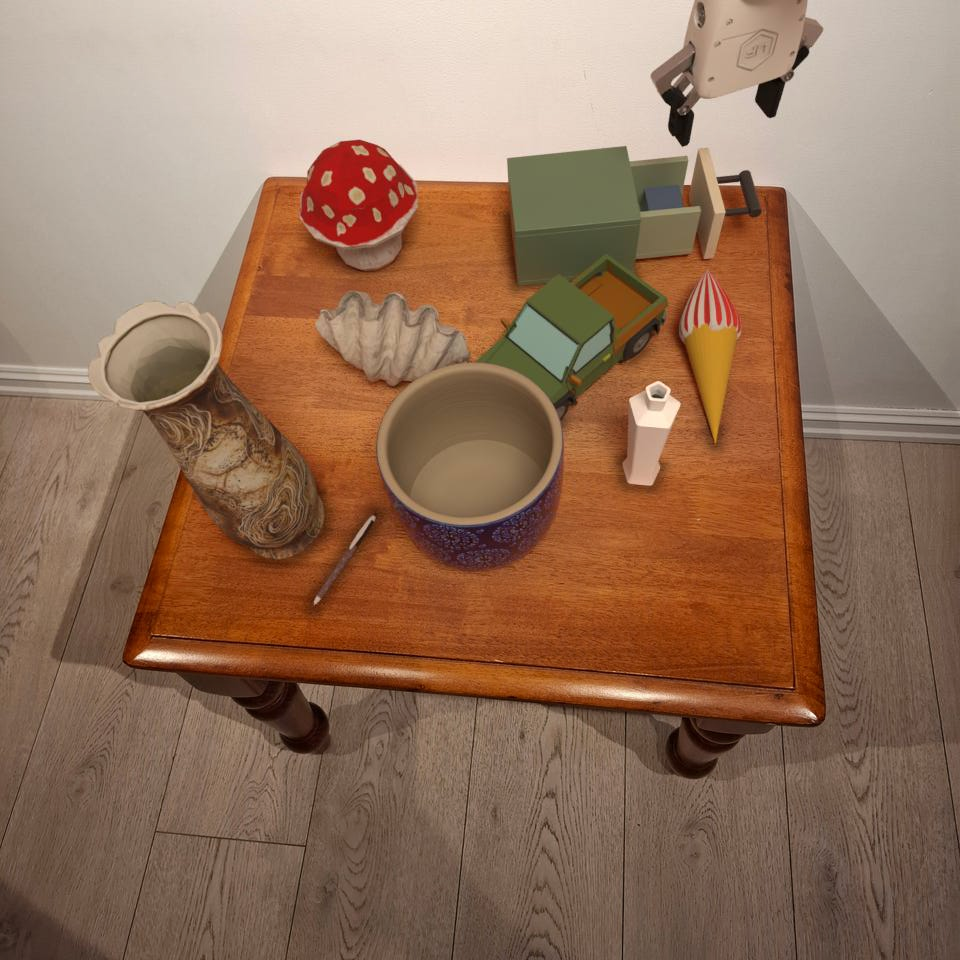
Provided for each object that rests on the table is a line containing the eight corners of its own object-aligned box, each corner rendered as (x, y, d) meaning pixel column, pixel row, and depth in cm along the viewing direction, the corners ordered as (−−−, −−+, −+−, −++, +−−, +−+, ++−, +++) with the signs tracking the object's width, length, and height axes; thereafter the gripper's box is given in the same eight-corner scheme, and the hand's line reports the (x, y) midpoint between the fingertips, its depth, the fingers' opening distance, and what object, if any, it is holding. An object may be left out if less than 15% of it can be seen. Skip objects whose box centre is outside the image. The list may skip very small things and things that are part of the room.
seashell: (373, 306, 99) (356, 247, 90) (479, 359, 94) (472, 303, 86) (320, 369, 95) (297, 314, 86) (427, 427, 91) (414, 375, 82)
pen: (373, 513, 87) (372, 509, 86) (380, 516, 87) (378, 512, 86) (310, 604, 83) (308, 601, 82) (317, 608, 83) (314, 605, 82)
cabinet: (620, 204, 103) (626, 145, 95) (633, 275, 98) (641, 218, 90) (509, 215, 104) (506, 157, 96) (517, 286, 99) (515, 231, 91)
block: (674, 210, 100) (678, 184, 96) (680, 235, 98) (685, 210, 94) (640, 213, 100) (643, 188, 96) (645, 239, 98) (649, 214, 94)
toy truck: (464, 390, 93) (455, 336, 84) (598, 280, 98) (604, 218, 89) (536, 455, 88) (536, 404, 80) (673, 336, 94) (686, 276, 85)
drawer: (738, 191, 102) (752, 142, 95) (756, 254, 97) (771, 207, 91) (595, 205, 102) (598, 158, 96) (606, 268, 98) (610, 223, 91)
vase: (315, 572, 84) (208, 419, 57) (215, 559, 86) (65, 404, 59) (339, 480, 89) (250, 299, 62) (244, 469, 90) (117, 287, 63)
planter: (589, 478, 87) (597, 402, 73) (514, 615, 81) (508, 559, 67) (451, 417, 91) (434, 334, 78) (370, 542, 85) (337, 476, 72)
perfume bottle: (669, 485, 86) (692, 408, 72) (627, 493, 86) (642, 417, 72) (657, 446, 88) (677, 365, 75) (616, 454, 88) (629, 374, 74)
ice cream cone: (697, 455, 92) (690, 287, 96) (755, 447, 88) (745, 271, 93) (673, 443, 87) (667, 266, 92) (732, 433, 83) (723, 249, 88)
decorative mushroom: (413, 303, 99) (392, 209, 85) (301, 289, 101) (264, 195, 87) (439, 215, 105) (424, 114, 91) (333, 203, 107) (303, 103, 93)
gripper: (685, 10, 69) (660, 173, 84) (874, -49, 70) (816, 121, 85) (645, -40, 72) (629, 125, 87) (827, -95, 74) (779, 76, 89)
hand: (721, 123), depth 86 cm, fingers open, 9 cm apart
